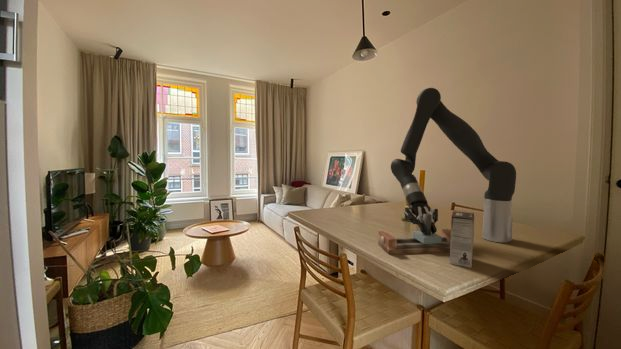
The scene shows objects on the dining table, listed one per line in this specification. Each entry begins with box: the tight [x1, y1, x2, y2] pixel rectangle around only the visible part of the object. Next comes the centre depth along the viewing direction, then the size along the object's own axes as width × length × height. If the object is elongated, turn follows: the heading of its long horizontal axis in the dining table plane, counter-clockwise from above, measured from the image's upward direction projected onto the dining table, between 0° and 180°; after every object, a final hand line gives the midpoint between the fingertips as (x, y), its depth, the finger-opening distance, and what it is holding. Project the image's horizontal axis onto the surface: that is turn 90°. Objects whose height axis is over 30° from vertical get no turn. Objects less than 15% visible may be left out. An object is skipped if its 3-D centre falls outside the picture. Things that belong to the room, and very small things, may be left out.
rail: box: [377, 228, 451, 255], centre depth 95 cm, size 31×10×6 cm, turn 96°
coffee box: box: [449, 211, 475, 269], centre depth 83 cm, size 9×6×16 cm
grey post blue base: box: [412, 213, 442, 244], centre depth 95 cm, size 7×8×10 cm
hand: (429, 232), depth 93 cm, fingers closed on grey post blue base, 3 cm apart
